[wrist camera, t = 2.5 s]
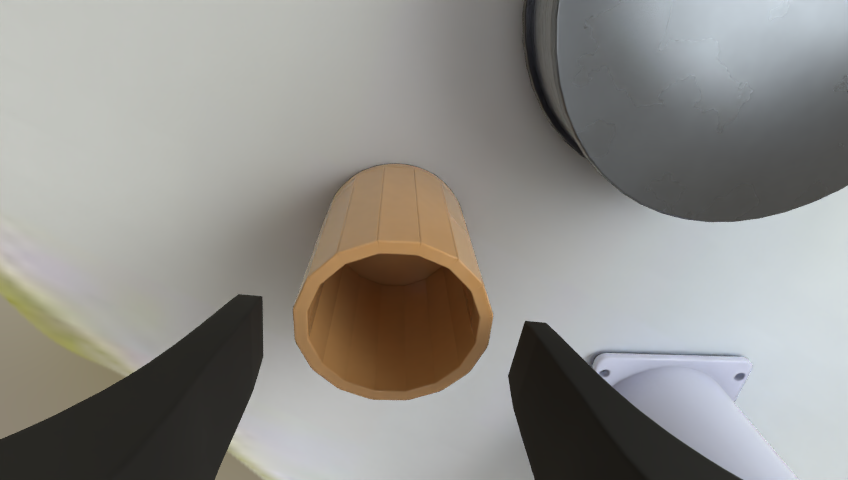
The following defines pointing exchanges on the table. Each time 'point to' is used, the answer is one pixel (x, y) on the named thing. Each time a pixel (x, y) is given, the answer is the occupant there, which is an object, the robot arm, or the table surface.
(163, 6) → the table surface
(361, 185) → the cup
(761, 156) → the grey disc
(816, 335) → the table surface
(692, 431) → the robot arm
